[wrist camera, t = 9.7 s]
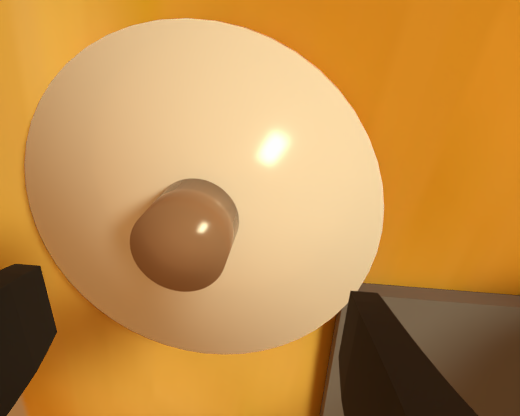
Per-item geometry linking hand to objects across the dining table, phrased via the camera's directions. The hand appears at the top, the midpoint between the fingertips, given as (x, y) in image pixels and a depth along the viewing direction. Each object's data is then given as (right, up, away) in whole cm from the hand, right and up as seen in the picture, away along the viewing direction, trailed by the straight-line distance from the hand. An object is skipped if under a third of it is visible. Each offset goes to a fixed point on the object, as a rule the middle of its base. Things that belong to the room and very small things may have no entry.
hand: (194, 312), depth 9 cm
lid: (-1, +2, +10) cm, 10 cm away
